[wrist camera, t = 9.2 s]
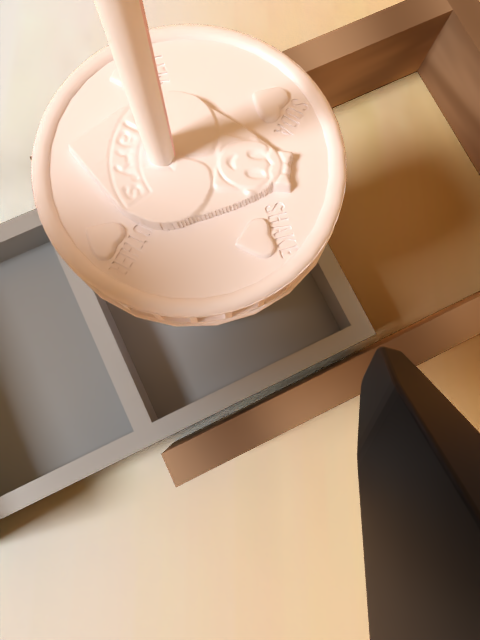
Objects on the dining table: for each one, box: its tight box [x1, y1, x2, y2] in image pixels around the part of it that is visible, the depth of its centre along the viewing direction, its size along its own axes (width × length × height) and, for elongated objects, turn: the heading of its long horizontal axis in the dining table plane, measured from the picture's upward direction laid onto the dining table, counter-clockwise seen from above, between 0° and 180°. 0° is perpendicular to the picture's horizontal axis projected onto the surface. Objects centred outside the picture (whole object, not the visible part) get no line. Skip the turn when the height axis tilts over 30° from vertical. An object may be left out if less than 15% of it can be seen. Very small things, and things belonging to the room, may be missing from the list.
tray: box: [0, 209, 376, 519], centre depth 16 cm, size 18×12×5 cm, turn 116°
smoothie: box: [31, 0, 347, 327], centre depth 11 cm, size 6×6×14 cm
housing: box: [30, 0, 480, 487], centre depth 18 cm, size 19×13×4 cm
